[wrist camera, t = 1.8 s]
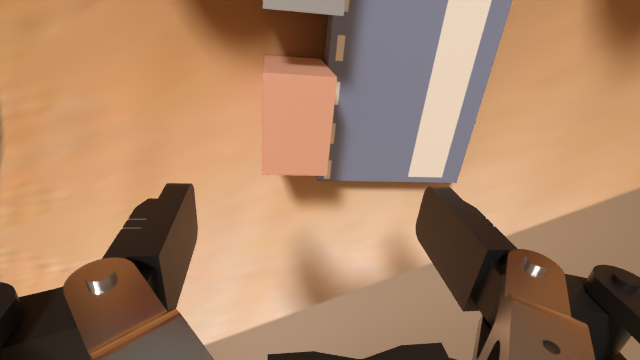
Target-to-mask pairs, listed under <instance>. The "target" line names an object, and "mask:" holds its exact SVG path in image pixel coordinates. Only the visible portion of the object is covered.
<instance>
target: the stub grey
mask: <svg viewBox="0 0 640 360" xmlns="http://www.w3.org/2000/svg"><path fill="white" fill-rule="evenodd" d="M344 8H345V0H263V9H274V10H284V11H295V12H306V13H317V14H328V15H338V16H344Z"/></svg>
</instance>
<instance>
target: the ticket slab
mask: <svg viewBox="0 0 640 360" xmlns="http://www.w3.org/2000/svg"><path fill="white" fill-rule="evenodd" d="M511 3H512V0H345V8H344V16H338V15H328V23H327V35H326V46H325V58H324V63H325V64H326V65H327V67H328V68H329V69H330V70H331V71H332V72H333V73H334V74H335V75H336V77H337V84H336V94H335V103H334V113H333V122H332V132H331V141H330V151H329V160H328V170H327V176H317V180H318V181H376V182H441V183H457V179H458V176H459V173H460V169H461V166H462V163H463V160H464V156H465V153H466V150H467V147H468V143H469V140H470V137H471V134H472V130H473V127H474V124H475V121H476V117H477V114H478V111H479V107H480V104H481V101H482V98H483V94H484V91H485V88H486V85H487V81H488V78H489V75H490V72H491V68H492V65H493V62H494V59H495V55H496V52H497V49H498V46H499V42H500V39H501V36H502V32H503V29H504V26H505V23H506V19H507V16H508V13H509V10H510V6H511Z"/></svg>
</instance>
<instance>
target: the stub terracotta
mask: <svg viewBox="0 0 640 360" xmlns="http://www.w3.org/2000/svg"><path fill="white" fill-rule="evenodd" d="M336 84H337V77H336V75H335V74H334V73H333V72H332V71H331V70H330V69H329V68H328V67H327V65H326V64H325V63H324V62H323V61H322V60H321V59H317V58H303V57H289V56H275V55H265V57H264V65H263V72H262V175H304V176H327V170H328V160H329V151H330V141H331V132H332V122H333V113H334V103H335V94H336Z"/></svg>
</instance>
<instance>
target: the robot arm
mask: <svg viewBox="0 0 640 360" xmlns="http://www.w3.org/2000/svg"><path fill="white" fill-rule="evenodd" d="M197 231H198V226H197V215H196V205H195V194H194V187H193V185H192V184H178V183H168V184H166V186H165V187H164V189H163V191H162V193H161V194H160V196H159V198H158V199H147V200H146V201H144V202H143V203H141V204H140V205H138V206H137V207H136V208H135V209H134V211H133V212H132V214H131V215H130V217H129V220H127V221H126V223H125V224H124V226H123V229H121V231H120V232H119V234H118V235H117V237H116V238H115V240H114V241H113V243H112V244H111V246H110V247H109V249H108V250H107V252H106V253H105V255H104V256H103V258H102V259H100V260H96V261H93V262H91V263H88V264H86V265H84V266H82V267H81V268H79V269H77V270H76V271H75V272H74V273H72V274H71V275H70V276H69V277H68V279H67V280H66V281H65V283H64V286H63V287H60V288H56V289H52V290H48V291H44V292H40V293H35V294H31V295H27V296H23V297H18V295H17V293H16V291H15V289H14V288H13V286H11V285H9V284H7V283H2V282H0V360H214V359H213V357H212V356H211V355H210V353H209V352H208V351H207V349H206V348H205V347H204V345H203V344H202V342H201V341H200V340H199V338H198V337H197V336H196V334H195V333H194V331H193V330H192V329H191V327H190V326H189V325H188V323H187V322H186V321H185V319H184V318H183V316H182V315H181V314H180V313H179V312H178V310H176V307H177V303H178V300H179V297H180V294H181V290H182V287H183V284H184V281H185V277H186V274H187V271H188V267H189V264H190V261H191V258H192V254H193V251H194V248H195V245H196V240H197ZM416 235H417V238H418V241H419V242H420V244H421V245H422V247H423V249H424V250H425V252H426V253H427V255H428V256H429V258H430V260H431V261H432V263H433V264H434V266H435V267H436V269H437V271H438V272H439V274H440V275H441V277H442V279H443V280H444V282H445V283H446V285H447V286H448V288H449V290H450V291H451V293H452V295H453V296H454V298H455V299H456V301H457V302H458V304H459V306H460V307H461V309H462V310H463V311H480V312H481V313H482V315H481V318H480V320H479V323H478V328H477V335H476V341H475V347H474V353H473V359H472V360H626V358H624V356H623V355H622V354H621V353H620V350H621V349H622V347H623V346H624V345H625V344H626V342H627V341H628V340H629V338H630V337H631V336H633V337H634V338H635V339H636V340H637V341H638V342H639V343H640V277H638V276H636V275H634V274H633V273H630V272H628V271H626V270H623V269H621V268H617V267H614V266H609V265H598V266H595V267H594V268H593V270H592V272H591V273H590V275H589V277H588V278H583V277H578V276H573V275H568V274H564V272H563V270H562V269H561V268H560V266H558V265H557V264H556V263H555V262H554V261H552V260H551V259H549V258H547V257H546V256H544V255H541V254H539V253H537V252H534V251H530V250H525V249H517V248H516V247H515V246H514V245H513V244H512V243H511V242H510V241H509V240H508V239H507V238H506V237H505V236H504V235H503V234H502V233H501V232H500V231H499V230H498V229H497V228H496V227H493V224H492V223H491V222H490V221H489V220H488V219H486V217H485V216H484V215H483V214H482V213H481V212H480V211H479V210H478V209H477V208H475V207H473V206H472V205H470V204H468V203H467V202H465V201H463V200H462V199H461V198H460V197H459V196H458V195H457V194H456V193H455V192H454V191H453V190H452V189H451V188H450V187H428V188H427V189H426V190H425V192H424V195H423V199H422V203H421V207H420V211H419V214H418V218H417V222H416ZM268 360H456V359H452V358H449V357H448V355H447V353H446V351H445V349H444V347H443V345H442V343H430V344H415V345H401V346H398V347H396V348H393V349H390V350H387V351H384V352H382V353H379V354H376V355H373V356H370V357H368V358H364V359H354V358H348V357H342V356H337V355H331V354H325V353H319V352H314V351H312V352H298V353H282V354H268Z"/></svg>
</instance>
